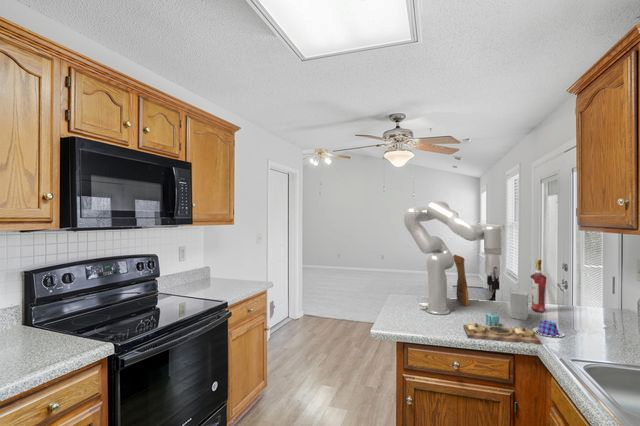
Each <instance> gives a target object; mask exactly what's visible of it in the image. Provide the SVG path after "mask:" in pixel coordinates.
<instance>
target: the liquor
mask: <svg viewBox="0 0 640 426" xmlns="http://www.w3.org/2000/svg"><path fill="white" fill-rule="evenodd" d="M530 290H531V307H530V309H531V310H532V311H533V312H535V313H544V312H545V311H547V308H546V293H547V276H546V275H544V274H543V273H542V259H535V273H533V274H531V275H530Z"/></svg>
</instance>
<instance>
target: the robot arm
mask: <svg viewBox="0 0 640 426" xmlns="http://www.w3.org/2000/svg"><path fill="white" fill-rule="evenodd" d="M432 220H437V221H439V222H441V223H443V224H444V225H446V227H448V228H449V229H450V230H451V231H452V232H453V233H455V235H457V236H458V237H460V238H462V239H464V240H466V241H469V242H474V241H475V242H476V241H482V240H483V254H484V255H485V259H484V261H485V262H484V263H485V264H484V267H485V268H484V273H485V274H486V275H487V276H486V277H487V279H486V284H487V286H491V290H492V291H493V290H500V275H501V263H500V261H501V260H500V256H502V255H503V254H502V252H503V251H502V248H503V247H502V246H503V245H502V228H501V226H499V225H482V224H475V225H473V224H469V223H468V222H466V221H463V220H462V219H461V218H459V213H458V212H457V211H456V210H454V209H452V208H450V206H449V204H448V203H447V202H446V201H441V200H437V201H436V200H433V201H431V202H428V203H427V205H426V206H414V207H413V206H412V207H409V208H408V209H407V210H406V211H405V212H404V217H403V221H404V226H405V227H406V229H407V231H408V232H409V234H410V236H411V237H412V238H413V240H414V242H415V244H416V245H417V247H418V249H419V250H420V251H421V252H422V253H423V254H425V255H429V254H431V255H429V256H428V257H427V259H426V270H427V276H428V277H427V279H428V281H427V282H428V288H427V289H428V292H427V295H428V300H427V302H419V307H421V308H425V312H427V313H429V314H432V315H440V316H442V315H448V314H450V311H451V310H450V308H448V307H447V306H448V303H447V302H448V299H447V298H448V296H447V292H448V290H447V289H448V285H447V284H448V283H447V282H448V281H447V274H446V270H449V269H451V268H453V266H455V261H454V257H453V256H454V255H453V253H452V251H450V249H449V248H448V246H447V245H446V243H445V242H444V240H443V239H442V238H440V237H439V236H437V235H436V236H435V235H433V236H432V235H430V233H428V231H427V229H426V227H424V225H423V224H421V222H429V221H432Z"/></svg>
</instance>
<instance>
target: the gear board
mask: <svg viewBox="0 0 640 426" xmlns="http://www.w3.org/2000/svg"><path fill="white" fill-rule="evenodd" d="M462 326H463V331H464V332H465V335H466V337H467V339H473V340H474V339H475V340H486V341H497V342H507V343H519V342H523V343H522V344H530V343H534V344H533V345H541V343H542V342H541V341H542V340H541V339H540V338H538V336H537V335H536V332H535V331H533V330H531V329H529V328H527V327H525V326H522V327H517V326H515V327H513V328H511V327H503V326H499V327H498V326H488V325H485V326H484V325H482V324H479V323H476V322H475V323H474V324H473V323H468V324H463V325H462Z"/></svg>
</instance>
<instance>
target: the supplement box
mask: <svg viewBox="0 0 640 426" xmlns="http://www.w3.org/2000/svg"><path fill="white" fill-rule="evenodd" d="M528 317H529V292H525V291H517V290H516V291H515V290H512V291H511V292H510V318H512V319H516V320H522V321H527V320H528Z"/></svg>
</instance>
